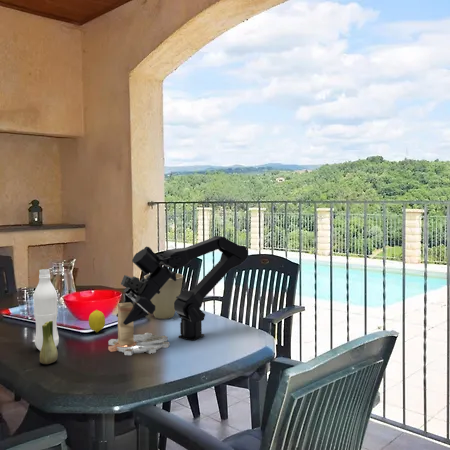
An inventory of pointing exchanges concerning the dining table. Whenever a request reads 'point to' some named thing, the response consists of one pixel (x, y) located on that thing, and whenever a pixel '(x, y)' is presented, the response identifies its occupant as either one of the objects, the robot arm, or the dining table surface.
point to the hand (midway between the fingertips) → (120, 320)
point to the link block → (125, 330)
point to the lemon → (96, 320)
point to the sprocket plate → (140, 344)
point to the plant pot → (167, 298)
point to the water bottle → (45, 307)
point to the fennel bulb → (48, 345)
